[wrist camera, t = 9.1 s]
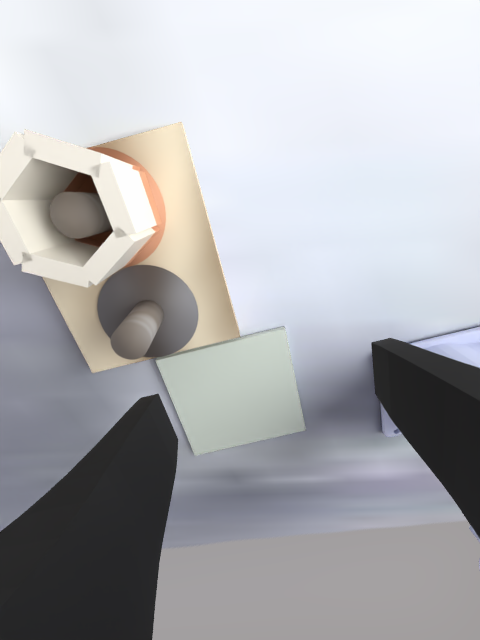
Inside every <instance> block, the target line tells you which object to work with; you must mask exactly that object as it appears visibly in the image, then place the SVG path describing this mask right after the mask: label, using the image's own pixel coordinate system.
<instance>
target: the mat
mask: <svg viewBox="0 0 480 640" xmlns="http://www.w3.org/2000/svg"><path fill="white" fill-rule="evenodd" d="M156 363H157V366H158V368H159V370H160V373H161V375H162V378H163V380H164V382H165V385H166V387H167V390H168V392H169V395H170V397H171V399H172V402H173V404H174V407H175V409H176V411H177V414H178V416H179V419H180V421H181V423H182V426H183V428H184V431H185V433H186V435H187V438H188V440H189V443H190V445H191V448H192V450H193V452H194V455H195V456H197V455H201V454H205V453H210V452H214V451H218V450H223V449H227V448H231V447H236V446H240V445H245V444H249V443H253V442H258V441H262V440H266V439H271V438H275V437H279V436H284V435H288V434H292V433H297V432H301V431H305V430H306V428H305V423H304V418H303V414H302V409H301V404H300V399H299V394H298V389H297V384H296V379H295V374H294V369H293V364H292V359H291V355H290V350H289V345H288V340H287V335H286V330H285V327H280V328H276V329H272V330H267V331H263V332H259V333H255V334H251V335H247V336H243V337H239V338H235V339H231V340H227V341H223V342H219V343H215V344H210V345H206V346H202V347H198V348H194V349H190V350H186V351H182V352H178V353H174V354H170V355H167V356H163V357H158V358H156Z"/></svg>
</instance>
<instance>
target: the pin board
mask: <svg viewBox="0 0 480 640" xmlns="http://www.w3.org/2000/svg"><path fill="white" fill-rule="evenodd" d="M86 149H90V150H93V151H96V152H99V153H102V154H105V155H107V156H110V157H112V158H115V159H118V160H120V161H123V162H125V163H129V164H132V165H135V166H137V167H140V171H141V172H144V173H145V174H146V177H147V180H148V183H149V186H150V189H151V192H152V195H153V198H154V201H155V204H156V207H157V210H158V213H159V216H160V219H161V222H162V224H160V225H157V226H158V227H159V228H160V229H161V230H160V231H159V232H158V233H157V235H156V236H155V237H154V238H153V239H152V240H151V241H150V242H149V243H148V244H147V246H146V247H145V248H144V249H143V250H142V251H141V252H140V253H139V254H138V255H137V257H136V258H135V259H134V260H133V261H132V262H131V263H129V264H128V265H126V266H124V267H123V268H121V269H120V270H118V271H117V272H115V273H114V274H112V275H111V276H109V277H108V278H106V279H105V280H103V281H102V282H100V283H99V284H97V285H96V286H95V285H94V284H93V285H91V286H90V287H88V288H87V287H83V286H79V285H75V284H71V283H67V282H62V281H58V280H54V279H50V278H46V277H42V278H43V279H44V281H45V283H46V285H47V287H48V289H49V291H50V293H51V295H52V297H53V299H54V301H55V302H56V304H57V306H58V308H59V310H60V312H61V314H62V316H63V318H64V320H65V322H66V323H67V325H68V327H69V329H70V331H71V333H72V335H73V337H74V339H75V341H76V343H77V344H78V346H79V348H80V350H81V352H82V354H83V356H84V358H85V360H86V362H87V364H88V365H89V367H90V369H91V371H92V373H96V372H100V371H104V370H108V369H112V368H116V367H120V366H124V365H128V364H132V363H136V362H140V361H144V360H148V359H152V358H157V357H163V356H167V355H170V354H173V353H177V352H181V351H185V350H189V349H193V348H197V347H201V346H205V345H209V344H213V343H218V342H222V341H226V340H230V339H234V338H238V337H240V332H239V328H238V324H237V320H236V316H235V313H234V309H233V305H232V302H231V298H230V294H229V291H228V287H227V283H226V280H225V276H224V272H223V269H222V265H221V261H220V258H219V254H218V250H217V247H216V243H215V239H214V236H213V232H212V228H211V225H210V221H209V217H208V214H207V210H206V206H205V203H204V199H203V195H202V192H201V188H200V184H199V181H198V177H197V173H196V170H195V166H194V162H193V159H192V155H191V151H190V147H189V144H188V140H187V136H186V133H185V129H184V126H183V124H182V122H179V123H175V124H172V125H168V126H165V127H161V128H157V129H154V130H150V131H147V132H143V133H140V134H136V135H132V136H129V137H125V138H122V139H118V140H115V141H111V142H108V143H104V144H100V145H97V146H93V147H90V148H86ZM50 217H51V220H52V222H53V224H54V225H55V227H56V228H57V229H58V230H59V231H60V232H61V233H62V234H64V235H66V236H68V237H70V238H75V239H80V238H85V237H86V238H89V239H93V240H96V241H100V242H105V241H106V239H107V238H108V237H109V236H110V235H111V234H112V232H113V229H112V226H111V224H110V221H109V219H108V216H107V214H106V211H105V209H104V206H103V204H102V201H101V199H100V196H99V194H98V191H97V189H96V186H95V184H94V181H93V179H92V176H91V175H89V176H88V178H87V179H86V180H85V181H84V183H83V184H82V185H81V187H80V188H79V189H78V190H77V192H62V193H60V194H58V195H56V196H55V197H54V198H53V200H52V202H51V204H50Z"/></svg>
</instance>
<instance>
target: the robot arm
mask: <svg viewBox="0 0 480 640" xmlns="http://www.w3.org/2000/svg"><path fill="white" fill-rule="evenodd" d="M372 356H373V369H374V382H375V393H376V395H377V397H378V399H379V400H380V404H381V419H382V431H383V433H384V435H385V436H386V437H393V436H397V435H402V434H403V435H404V437H405V438H406V439H407V440H408V442H409V443H410V444H411V445H412V447H413V448H414V449H415V451H416V452H417V453H418V454H419V456H420V457H421V458H422V459H423V461H424V462H425V463H426V464H427V466H428V467H429V468H430V469H431V471H432V472H433V473H434V474H435V476H436V477H437V478H438V479H439V481H440V482H441V483H442V484H443V486H444V487H445V488H446V490H447V491H448V493H449V494H450V495H451V497H452V498H453V499H454V501H455V502H456V504H457V505H458V507H459V508H460V510H461V511H462V513H463V514H464V516H465V517H466V519H467V520H468V522H469V523H470V525H471V526H470V528H469V529H470V530H471V532H472V533H473V534H474V535H475V537H476V538H477V540H478V541H479V542H480V327H477V328H472V329H468V330H464V331H460V332H456V333H451V334H447V335H443V336H439V337H435V338H430V339H426V340H422V341H418V342H414V343H410V344H408V343H405V342H402V341H399V340H396V339H392V338H388V339H384V340H380V341H376V342H372ZM395 429H396V430H395ZM177 450H178V438H177V436H176V433H175V431H174V429H173V426H172V424H171V422H170V420H169V417H168V415H167V413H166V410H165V408H164V406H163V403H162V401H161V399H160V396H159V394H155V395H151V396H147V397H143V398H140V399H139V400H138V401H137V402H136V403H135V404H134V405H133V406H132V407H131V408H130V409H129V410H128V411H127V412H126V413H125V414H124V416H123V417H122V418H121V419H120V420H119V421H118V422H117V423H116V424H115V425H114V426H113V427H112V429H111V430H110V431H109V432H108V433H107V434H106V435H105V436H104V437H103V438H102V439H101V440H100V441H99V442H98V444H97V445H96V446H95V447H94V448H93V449H92V450H91V451H90V452H89V453H88V454H87V455H86V456H85V457H84V458H83V459H82V460H81V461H80V462H79V463H78V464H77V465H76V466H75V467H74V468H73V469H72V470H71V471H70V472H69V473H68V474H67V475H66V476H65V477H64V478H63V479H61V480H60V481H59V482H58V483H57V484H56V485H55V486H54V487H53V488H52V489H51V490H50V491H48V492H47V493H46V494H45V495H44V496H43V497H42V498H40V499H39V500H38V501H37V502H36V503H35V504H34V505H32V506H31V507H30V508H29V509H28V510H27V511H26V512H24V513H23V514H22V515H21V516H20V517H18V518H17V519H16V520H15V521H13V522H12V523H11V524H10V525H8V526H7V527H6V528H4V529H3V530H2V531H1V532H0V640H152V633H153V622H154V610H155V599H156V590H157V580H158V570H159V561H160V554H161V548H162V542H163V537H164V532H165V527H166V521H167V516H168V511H169V506H170V501H171V495H172V490H173V485H174V479H175V473H176V466H177ZM479 569H480V559H479Z"/></svg>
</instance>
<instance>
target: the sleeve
mask: <svg viewBox="0 0 480 640" xmlns="http://www.w3.org/2000/svg"><path fill="white" fill-rule="evenodd" d="M89 175H91V176H92V179H93V181H94V184H95V186H96V189H97V191H98V194H99V196H100V199H101V201H102V204H103V206H104V209H105V211H106V214H107V216H108V219H109V221H110V224H111V226H112V229H113V232H112V234H111V235H110V236H109V237H108V238H107V239H106V241H105V242H100V241H96V240H93V239H89V238H86V237H85V238H80V239H75V238H70V237H68V236H66V235H64V234H62V233H61V232H60V231H59V230H58V229H57V228H56V227H55V225H54V224H53V222H52V220H51V217H50V204H51V202H52V200H53V198H54V197H55V196H56V195H58V194H60V193H62V192H77V190H78V189H79V188H80V187H81V185H82V184H83V183H84V181H85V180H86V179H87V178H88V176H89ZM160 224H162V222H161V219H160V216H159V213H158V210H157V207H156V204H155V201H154V198H153V195H152V192H151V189H150V186H149V183H148V180H147V177H146V174H145V173H144V172H141V171H140V167H137V166H135V165H132V164H129V163H125V162H123V161H120V160H118V159H115V158H112V157H110V156H107V155H105V154H102V153H99V152H96V151H93V150H90V149H86V148H83V147H80V146H77V145H74V144H71V143H67V142H64V141H61V140H58V139H55V138H52V137H48V136H45V135H42V134H39V133H36V132H33V131H29V130H26V129H24V134H21V133H18V132H14V134H13V135H12V137H11V138H10V139H9V141H8V142H7V144H6V145H5V147H4V148H3V150H2V151H1V153H0V241H1V243H2V245H3V247H4V248H5V250H6V252H7V254H8V256H9V257H10V259H11V261H12V263H13V265H18V264H21V263H22V272H26V273H30V274H34V275H38V276H42V277H46V278H50V279H54V280H58V281H62V282H67V283H71V284H75V285H79V286H83V287H87V288H88V287H90V286H91V285H93V284H94V285H95V286H96V285H97V284H99V283H100V282H102V281H103V280H105V279H106V278H108V277H109V276H111V275H112V274H114V273H115V272H117V271H118V270H120V269H121V268H123V267H124V266H126V265H128V264H129V263H131V262H132V261H133V260H134V259H135V258H136V257H137V255H138V254H139V253H140V252H141V251H142V250H143V249H144V248H145V247H146V246H147V244H148V243H149V242H150V241H151V240H152V239H153V238H154V237H155V236H156V235H157V233H158V232H159V231H160V230H161V229H160V228H159V227H158V226H157V225H160Z"/></svg>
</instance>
